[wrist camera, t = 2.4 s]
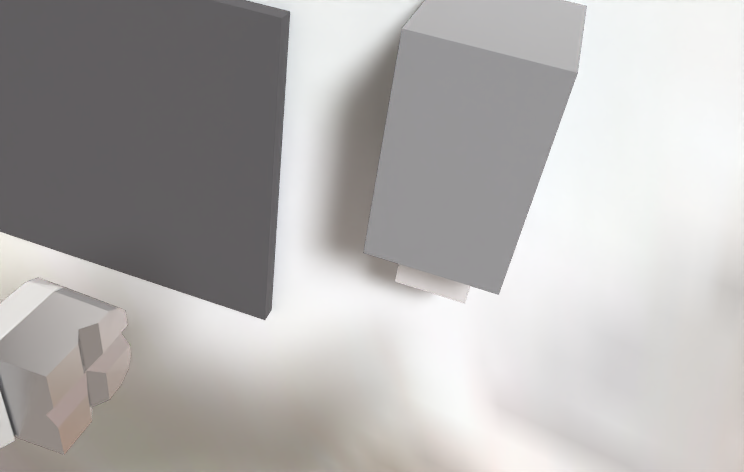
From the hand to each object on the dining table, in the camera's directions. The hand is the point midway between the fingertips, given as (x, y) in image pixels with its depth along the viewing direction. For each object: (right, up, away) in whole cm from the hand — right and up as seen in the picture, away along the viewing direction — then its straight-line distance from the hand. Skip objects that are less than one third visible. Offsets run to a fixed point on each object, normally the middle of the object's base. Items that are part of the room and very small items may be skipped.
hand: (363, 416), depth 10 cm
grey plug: (+3, +6, +9) cm, 11 cm away
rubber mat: (-9, +6, +13) cm, 17 cm away
